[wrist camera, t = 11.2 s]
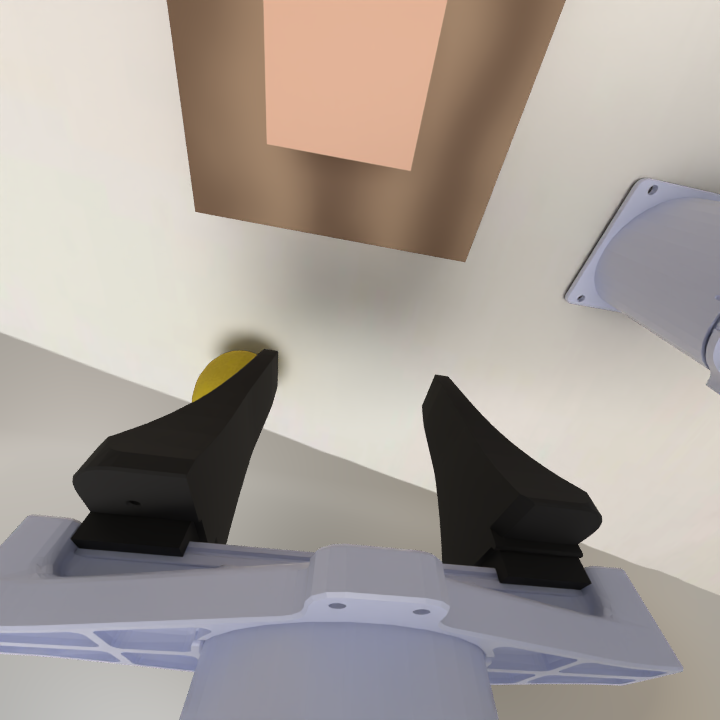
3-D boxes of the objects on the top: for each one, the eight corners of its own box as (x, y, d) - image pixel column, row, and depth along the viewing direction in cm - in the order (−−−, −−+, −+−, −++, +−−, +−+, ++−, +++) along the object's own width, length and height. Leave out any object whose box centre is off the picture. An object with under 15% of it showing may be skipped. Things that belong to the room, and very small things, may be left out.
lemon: (225, 322, 24) (174, 389, 17) (292, 347, 25) (267, 417, 19) (215, 371, 27) (167, 444, 20) (275, 391, 28) (248, 465, 22)
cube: (422, 20, 12) (460, -59, 8) (396, 162, 15) (410, 170, 10) (302, -8, 12) (260, -110, 7) (298, 143, 15) (266, 143, 10)
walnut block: (610, -186, 11) (665, -259, 9) (455, 250, 20) (465, 262, 18) (158, -344, 10) (102, -474, 8) (213, 204, 19) (195, 211, 17)
